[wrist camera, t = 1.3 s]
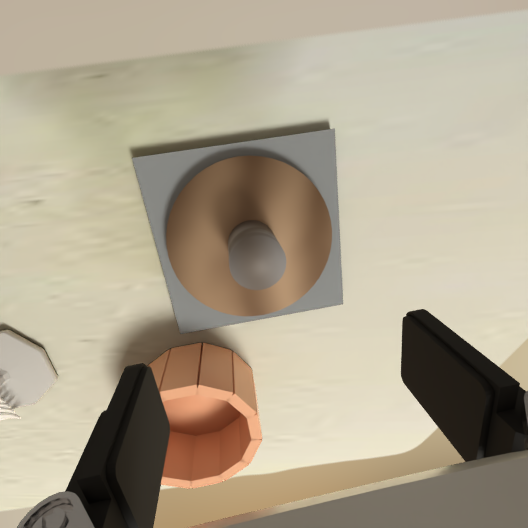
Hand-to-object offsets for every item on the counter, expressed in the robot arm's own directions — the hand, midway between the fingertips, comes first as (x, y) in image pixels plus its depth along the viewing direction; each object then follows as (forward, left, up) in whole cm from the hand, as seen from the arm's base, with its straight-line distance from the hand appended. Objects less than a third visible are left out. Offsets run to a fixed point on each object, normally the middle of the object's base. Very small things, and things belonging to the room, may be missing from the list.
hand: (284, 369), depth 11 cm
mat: (0, 0, -18) cm, 18 cm away
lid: (0, 0, -17) cm, 17 cm away
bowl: (+8, +16, -18) cm, 25 cm away
